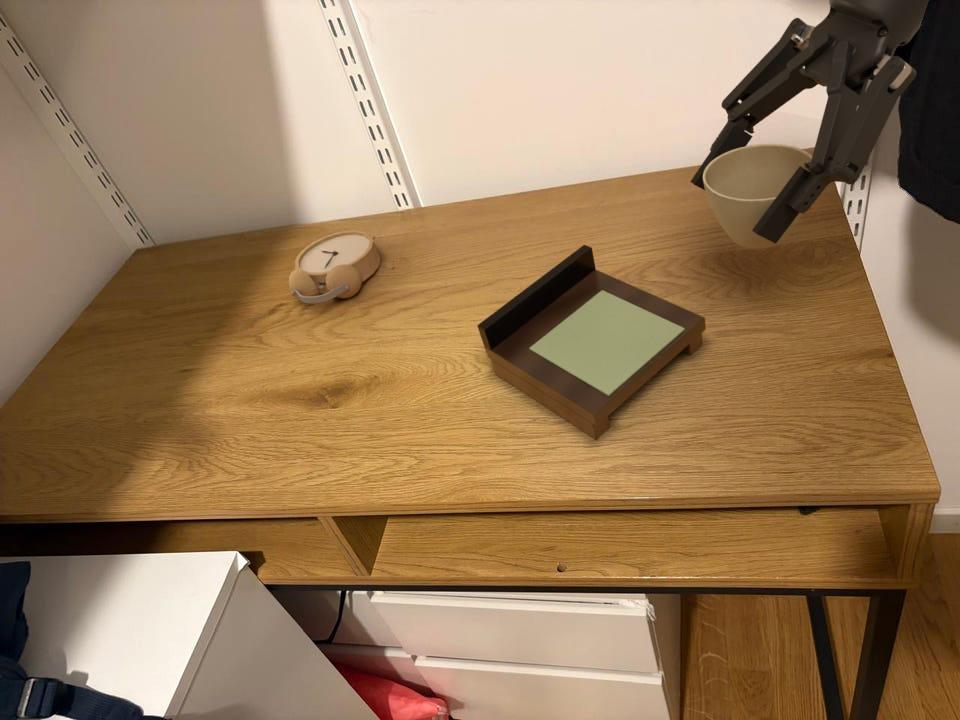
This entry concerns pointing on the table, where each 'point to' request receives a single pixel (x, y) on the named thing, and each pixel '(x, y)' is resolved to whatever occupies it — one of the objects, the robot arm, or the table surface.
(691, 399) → the table surface
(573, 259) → the tray
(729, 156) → the flower pot
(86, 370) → the table surface
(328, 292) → the alarm clock
